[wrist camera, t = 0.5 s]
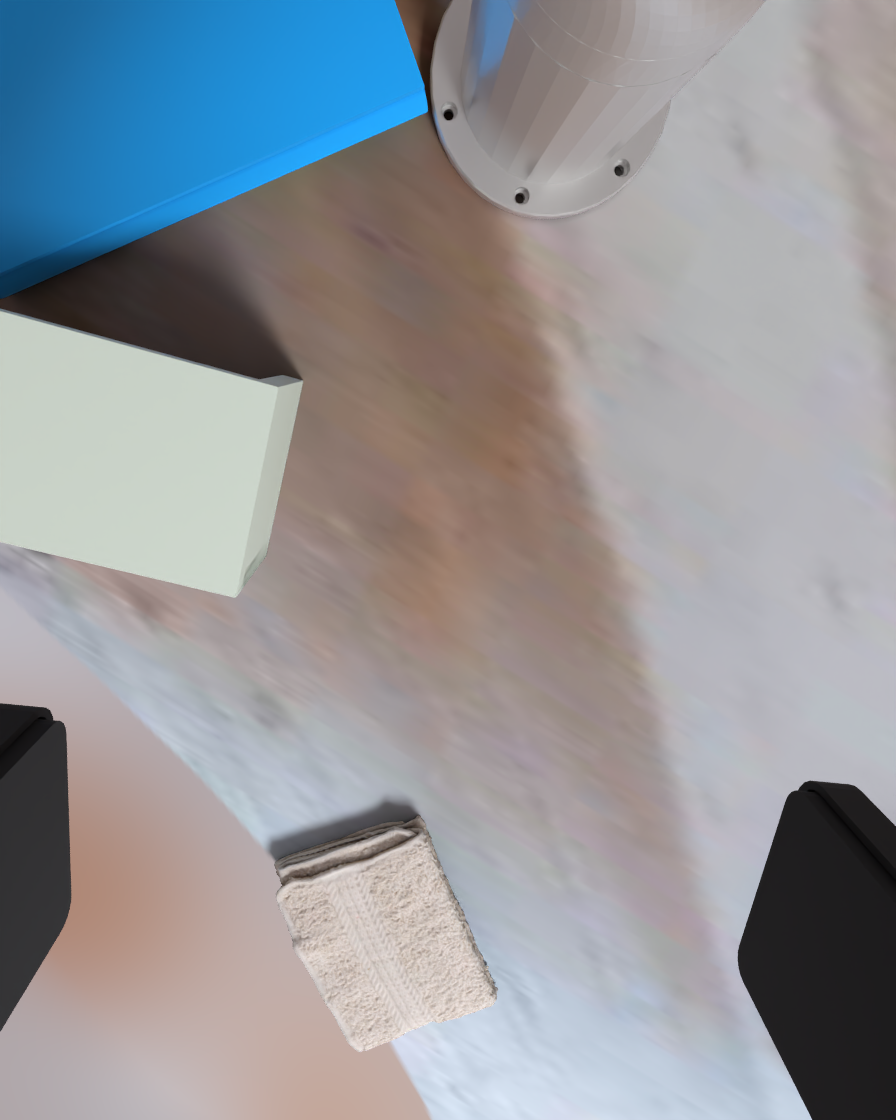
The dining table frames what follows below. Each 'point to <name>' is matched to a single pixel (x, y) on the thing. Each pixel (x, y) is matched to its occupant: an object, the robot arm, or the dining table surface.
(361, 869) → the washcloth
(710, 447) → the dining table surface
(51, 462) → the shelf
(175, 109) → the book
